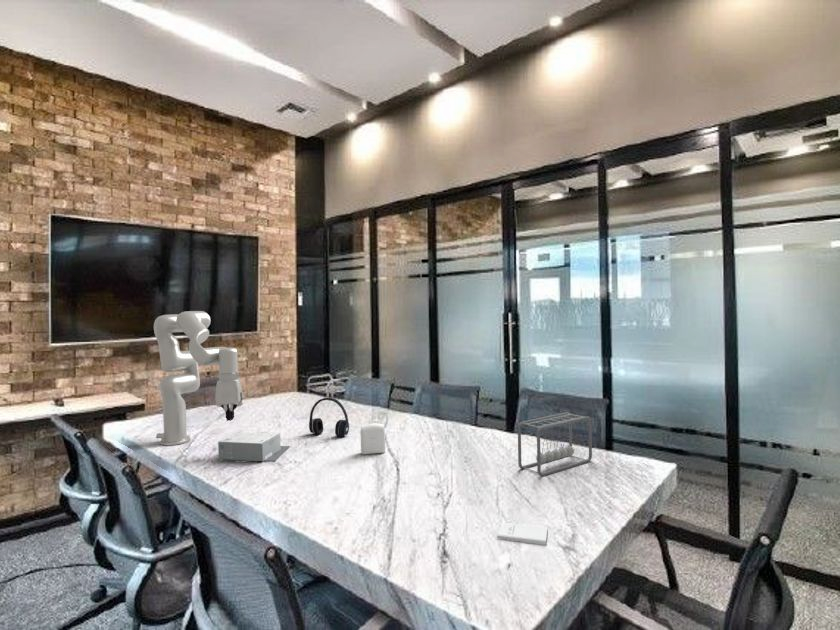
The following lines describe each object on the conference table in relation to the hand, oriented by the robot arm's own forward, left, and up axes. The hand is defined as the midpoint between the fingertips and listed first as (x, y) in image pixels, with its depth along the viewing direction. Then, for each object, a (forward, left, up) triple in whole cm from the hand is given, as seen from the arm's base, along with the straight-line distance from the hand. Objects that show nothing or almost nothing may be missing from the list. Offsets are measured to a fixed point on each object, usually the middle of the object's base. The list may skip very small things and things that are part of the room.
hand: (230, 419), depth 200 cm
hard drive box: (-1, 0, -11) cm, 11 cm away
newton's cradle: (+133, -18, -15) cm, 135 cm away
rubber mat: (+11, 0, -15) cm, 19 cm away
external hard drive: (+110, -72, -16) cm, 133 cm away
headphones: (+36, +28, -15) cm, 48 cm away
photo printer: (+61, 0, -15) cm, 63 cm away
